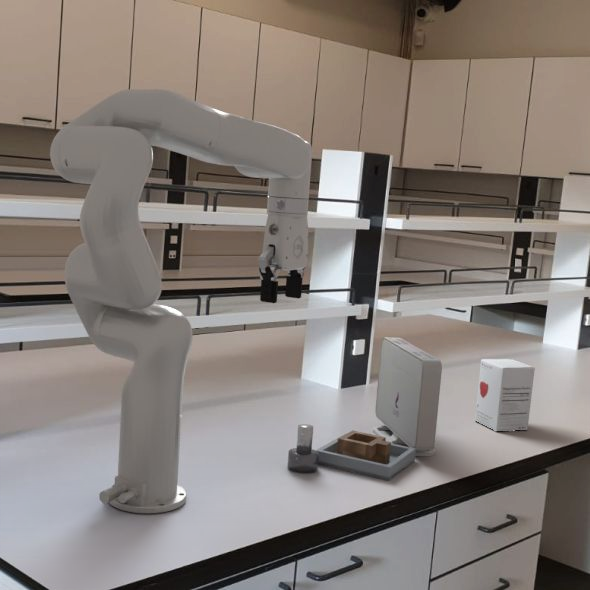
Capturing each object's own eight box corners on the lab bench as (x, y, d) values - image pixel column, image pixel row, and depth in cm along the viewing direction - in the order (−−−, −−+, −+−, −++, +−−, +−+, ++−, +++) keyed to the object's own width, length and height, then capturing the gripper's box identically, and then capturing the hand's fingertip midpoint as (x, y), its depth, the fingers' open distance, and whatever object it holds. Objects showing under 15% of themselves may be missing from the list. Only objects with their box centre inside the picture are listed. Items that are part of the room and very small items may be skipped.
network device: (364, 423, 193) (372, 335, 191) (401, 424, 195) (409, 336, 193) (404, 461, 168) (413, 361, 166) (446, 461, 171) (455, 362, 168)
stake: (309, 475, 156) (312, 432, 155) (282, 468, 159) (285, 426, 158) (322, 467, 161) (326, 425, 160) (296, 461, 164) (299, 420, 163)
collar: (393, 459, 167) (395, 439, 167) (380, 468, 161) (381, 448, 161) (351, 449, 171) (352, 430, 171) (336, 458, 165) (337, 438, 165)
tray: (388, 480, 157) (390, 467, 156) (314, 463, 163) (315, 450, 163) (414, 461, 169) (415, 448, 169) (344, 445, 176) (345, 433, 176)
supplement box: (473, 421, 202) (479, 358, 200) (505, 420, 205) (511, 358, 203) (495, 432, 194) (502, 367, 192) (528, 431, 197) (536, 366, 195)
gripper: (283, 209, 150) (276, 306, 152) (325, 209, 165) (319, 298, 167) (246, 205, 153) (239, 301, 156) (291, 206, 169) (284, 293, 171)
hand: (281, 299), depth 161 cm, fingers open, 9 cm apart
